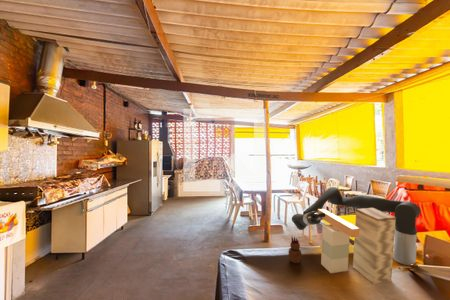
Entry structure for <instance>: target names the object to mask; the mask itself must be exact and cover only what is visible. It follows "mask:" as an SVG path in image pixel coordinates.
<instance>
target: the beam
mask: <svg viewBox="0 0 450 300" xmlns="http://www.w3.org/2000/svg"><path fill="white" fill-rule="evenodd" d="M331 212H332V211H329V210H327V209H326V208H322V209H318V213H325V217H321V218H322V219H323V221H324V222H327V223H328V224H329V225H333V226H334V227H336V228H338V229H339V230H341V231H342V232H344V233H345V234H347V235H349V236H350V237H349V238H355V237H359V230H360V228H358V227H356V226H355V225H354V224H353V223H351V222H349V221H347V220H345V219H344V218H341V217H340V216H338V215H336V214H334V213H333V212H332V213H331Z"/></svg>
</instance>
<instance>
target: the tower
mask: <svg viewBox="0 0 450 300" xmlns="http://www.w3.org/2000/svg"><path fill="white" fill-rule="evenodd" d="M321 231H322V232H321V253H320V255H321V257H320V264H321V265H322V267H324V268H325V269H326V270H327V272H329V273H330V274H335V273H341V272H348V271H349V257H350V256H349V252H350V238H351V237H350V236H349V235H347V234H345V233H344V232H342V231H341V230H339V229H338V228H336V227H334V226H333V225H331V224H323V225H322V230H321Z"/></svg>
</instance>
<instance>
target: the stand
mask: <svg viewBox="0 0 450 300" xmlns="http://www.w3.org/2000/svg"><path fill="white" fill-rule="evenodd" d="M355 210H356V211H355V223H354V224H355V225H354V226H356V227H358V228H360V230H359V237H354V242H353V243H354V244H353V260H352V268H353V269H355V270H356V271H357V272H358V273H360V274H361V275H362V276H364V277H365V278H366V279H367V280H369V281H370V282H371V283H373V284H381V283H385V282H391V281H392V276H393V275H392V274H393V262H394V261H393V260H394V259H393V253H394V240H395V222H396V217H395V215H391V214H389V213H388V212H382V211H379V210H377V209H374V208H363V209H359V208H355Z"/></svg>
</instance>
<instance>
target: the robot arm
mask: <svg viewBox="0 0 450 300" xmlns="http://www.w3.org/2000/svg"><path fill="white" fill-rule="evenodd" d="M327 202H329V204H332V205H335V206H343V207H350V208H354V209H363V208H374V209H377V210H379V211H382V212H384V213H392V214H394V217H396V222H395V235H394V249H393V260H394V261H395V262H397V263H398V264H402V265H405V266H412V265H411V264H414V265H415V264H416V262H417V261H416V260H417V249H418V247H417V236H418V228H417V227H416V220H417V218H418V217H419V216H420V214H421V212H422V209H421V207H420V206H419V205H418V204H416V203H414V202H413V201H412V202H411V201H408V200H407V201H406V200H405V201H403V200H392V199H386V198H383V197H378V196H371V195H367V194H358V195H354V196H351V197H346V196H343V195H342V194H341V192H340V190H339V188H338V187H336V186H331V187H329V188H327V189H326V190H325V191H324V192H323V193H322V194H321V195H320V196H319V197H318V198H317V200H316V201H315V202H313V204H311V205H310V206H309V207H307V208H306V209H305V210H304V211H303V214H302V213H295V214H293V215H292V217H291V221H292V223H293V224H294V226H295V227H296V228H297V229H298V230H300V231H304V230H305V229H306V227H308V226H314V225H319V224H320V223H321V222H322V220H323V219H322V218H321V217H325V213H318V209H324V208H323V207H324V206H325V204H326V203H327ZM330 212H331V213H333V212H332V211H330ZM323 221H324V220H323Z"/></svg>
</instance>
